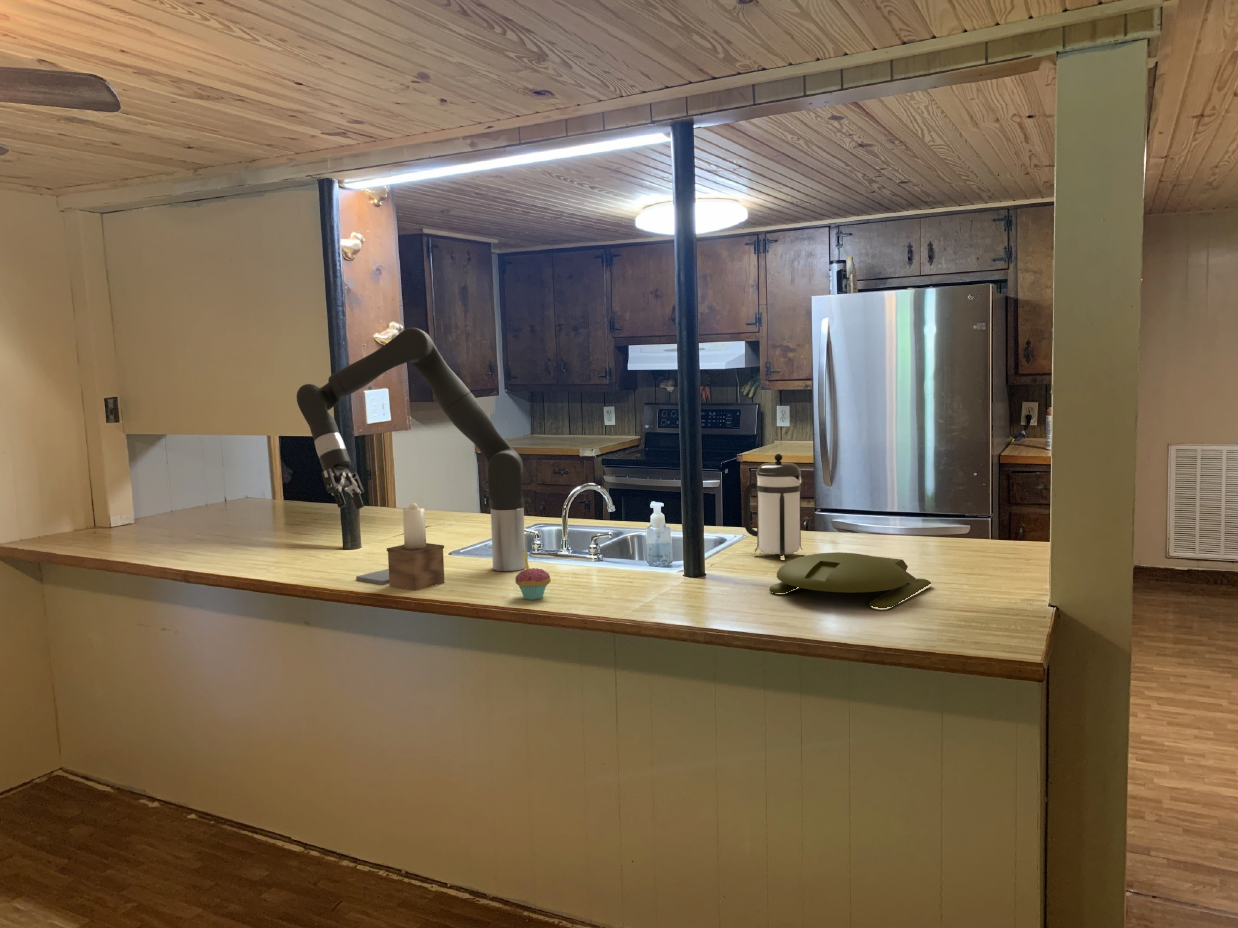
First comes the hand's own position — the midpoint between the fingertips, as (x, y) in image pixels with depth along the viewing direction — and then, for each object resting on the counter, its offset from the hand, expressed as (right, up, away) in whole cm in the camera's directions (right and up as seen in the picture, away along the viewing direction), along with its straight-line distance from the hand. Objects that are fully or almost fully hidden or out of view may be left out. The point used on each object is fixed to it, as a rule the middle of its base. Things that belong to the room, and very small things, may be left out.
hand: (351, 507), depth 240 cm
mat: (+9, -19, +3) cm, 22 cm away
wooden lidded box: (+19, -20, -5) cm, 28 cm away
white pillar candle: (+18, -10, -6) cm, 22 cm away
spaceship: (+127, -20, -24) cm, 130 cm away
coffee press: (+117, -15, +22) cm, 120 cm away
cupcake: (+51, -21, -22) cm, 59 cm away
